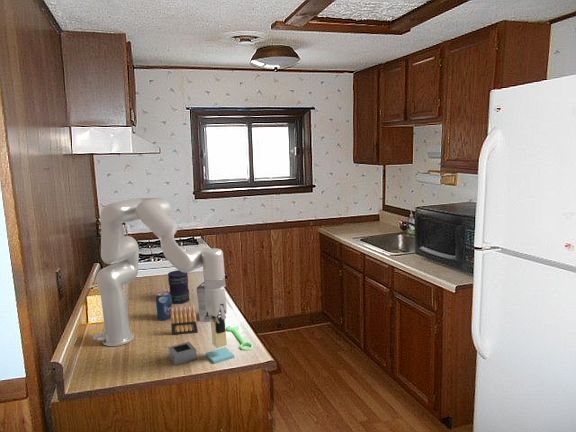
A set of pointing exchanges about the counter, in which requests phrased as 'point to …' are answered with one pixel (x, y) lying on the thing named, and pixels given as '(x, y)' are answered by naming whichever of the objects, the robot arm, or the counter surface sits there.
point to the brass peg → (217, 335)
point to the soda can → (163, 305)
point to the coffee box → (202, 304)
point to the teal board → (219, 355)
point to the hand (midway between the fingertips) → (218, 329)
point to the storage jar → (178, 287)
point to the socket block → (182, 353)
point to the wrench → (239, 338)
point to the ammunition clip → (183, 321)
